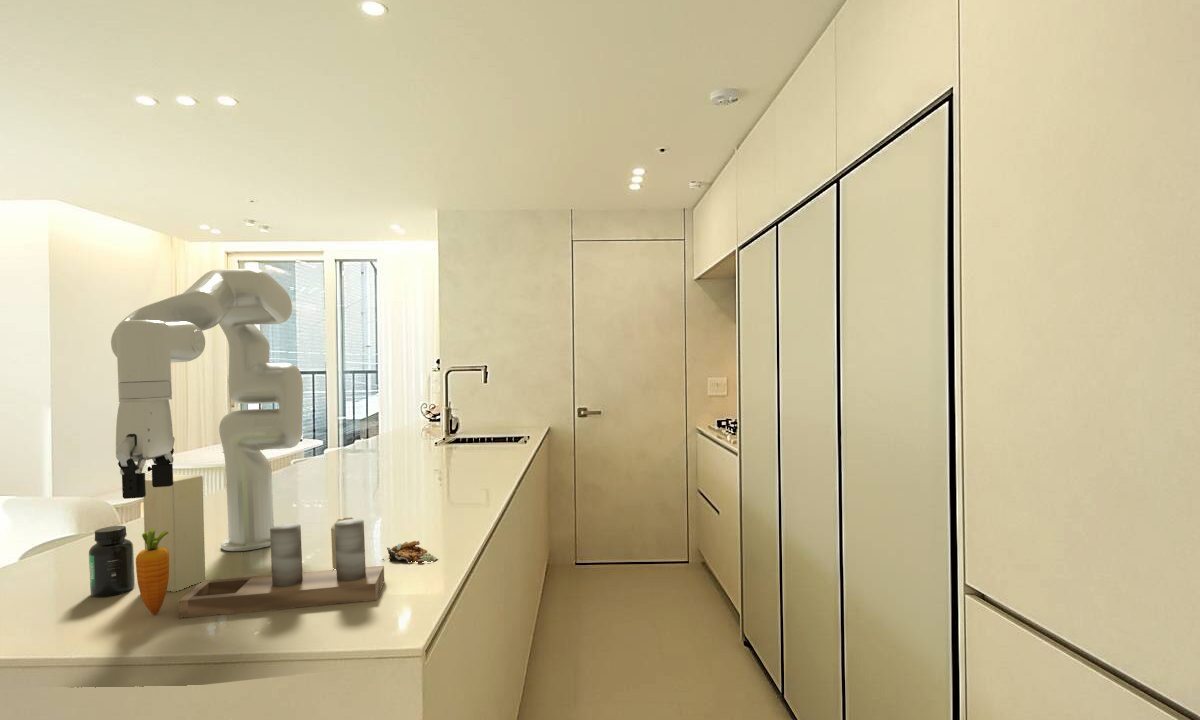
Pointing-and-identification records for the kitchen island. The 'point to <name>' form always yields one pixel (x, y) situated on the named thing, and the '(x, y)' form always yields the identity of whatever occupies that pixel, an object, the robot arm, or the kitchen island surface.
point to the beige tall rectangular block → (178, 527)
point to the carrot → (153, 571)
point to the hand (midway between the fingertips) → (149, 491)
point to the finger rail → (277, 596)
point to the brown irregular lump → (410, 552)
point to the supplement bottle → (111, 562)
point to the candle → (334, 542)
